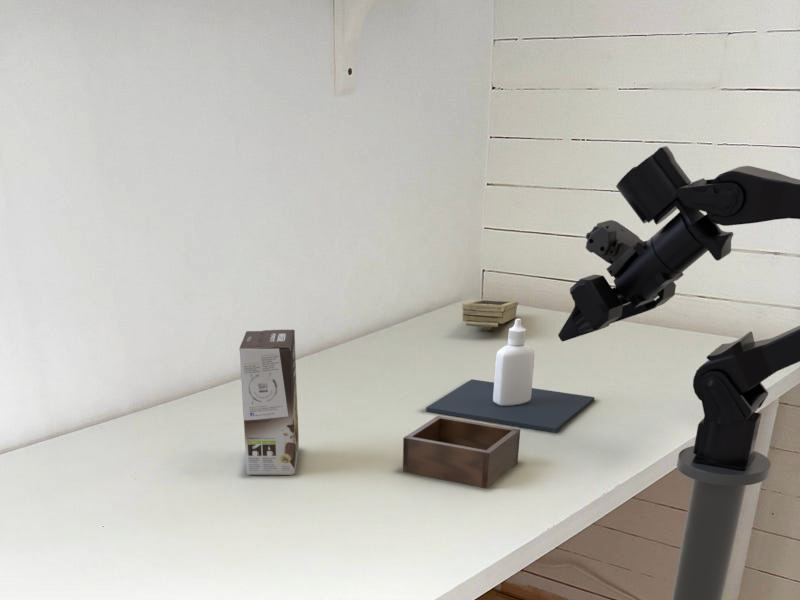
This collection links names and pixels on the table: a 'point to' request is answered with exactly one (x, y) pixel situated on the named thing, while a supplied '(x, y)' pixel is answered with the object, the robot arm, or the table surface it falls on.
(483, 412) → the desk mat
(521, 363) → the eye dropper bottle
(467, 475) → the desk box
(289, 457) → the coffee box
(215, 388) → the table surface
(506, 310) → the box
